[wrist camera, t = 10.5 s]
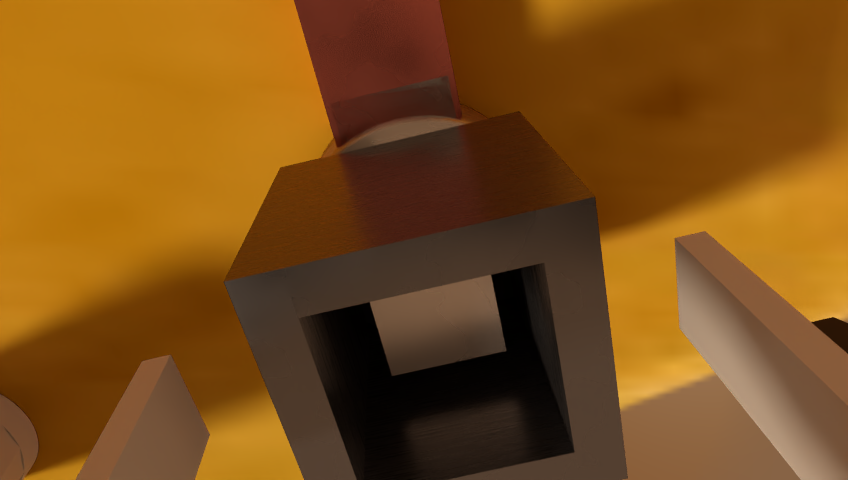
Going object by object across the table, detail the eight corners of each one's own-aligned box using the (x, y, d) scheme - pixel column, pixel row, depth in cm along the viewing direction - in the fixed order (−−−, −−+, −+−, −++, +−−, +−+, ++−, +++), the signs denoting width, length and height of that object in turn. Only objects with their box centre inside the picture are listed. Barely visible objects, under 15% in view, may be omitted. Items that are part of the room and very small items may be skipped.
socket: (280, 167, 21) (224, 281, 13) (519, 111, 20) (595, 197, 13) (345, 363, 24) (329, 541, 17) (552, 317, 24) (628, 478, 16)
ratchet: (137, -311, 19) (-39, -504, 11) (434, -391, 18) (472, -650, 10) (344, 322, 28) (328, 463, 20) (543, 277, 27) (606, 403, 20)
